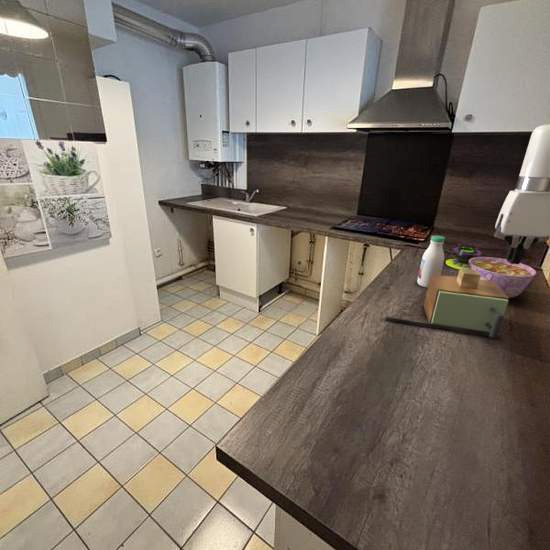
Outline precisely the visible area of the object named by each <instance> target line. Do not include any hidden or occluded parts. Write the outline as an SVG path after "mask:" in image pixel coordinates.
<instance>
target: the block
mask: <svg viewBox="0 0 550 550" xmlns="http://www.w3.org/2000/svg"><path fill="white" fill-rule="evenodd" d="M456 277H457V283H458V284H459V286H460V287H466V288H474V289H477V287H478V284H479V280H480V277H481V274H480V273H479V272H478V271H477V270H475V269H465V268H460V269H458V274H457V276H456Z"/></svg>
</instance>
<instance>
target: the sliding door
mask: <svg viewBox="0 0 550 550" xmlns="http://www.w3.org/2000/svg"><path fill="white" fill-rule="evenodd" d="M508 304H509V299H508V300H507V299H500V298H492V297H484V296H476V295H467V294H459V293H451V292H443V291H439V294H438V298H437V302H436V306H435V310H434V314H433V318H432V322H431V323H434V324H440V325H447V326H453V327H460V328H467V329H473V330H480V331H486V332H490V334H489V336H488V337H490V338H492V339H497V338H496V336H497V333H499V330H500V327H501V325H502V322H503V320H504V317H505V314H506V313H505V312H506V310H507V307H508Z"/></svg>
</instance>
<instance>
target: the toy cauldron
mask: <svg viewBox="0 0 550 550" xmlns="http://www.w3.org/2000/svg"><path fill="white" fill-rule="evenodd" d="M466 242H468V241H463V244H466ZM469 245H472V244H471V243H469ZM458 246H459V247H458ZM458 246H457V247H453V248H452V250H453V251H454V252H455V253H454V257H455V258H449V259H446V260H445V264H446V265H447V266H449V267H450V268H453V269H456V270H460V268H465V269H469V260H470V259H471V258H475V257H481V251H480V250H478V249H477V247H476V244H473V246H475V247H476V248H472V247H466V246H465V247H464V246H461V243H460V244H458Z"/></svg>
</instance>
